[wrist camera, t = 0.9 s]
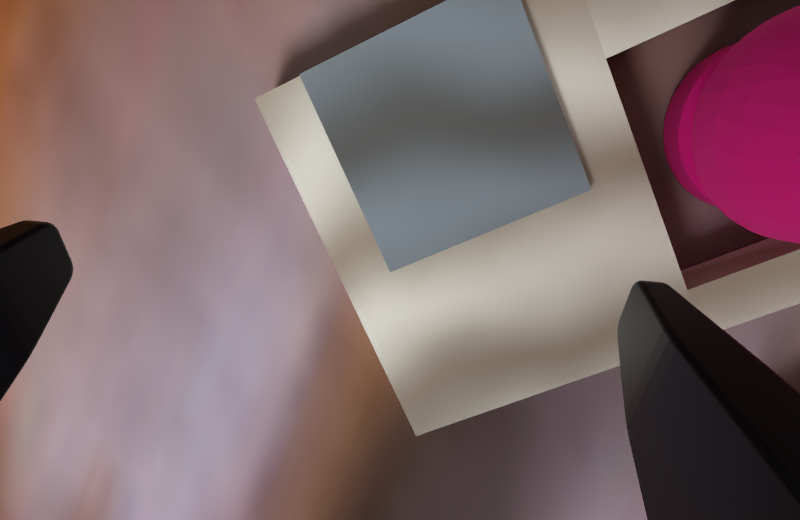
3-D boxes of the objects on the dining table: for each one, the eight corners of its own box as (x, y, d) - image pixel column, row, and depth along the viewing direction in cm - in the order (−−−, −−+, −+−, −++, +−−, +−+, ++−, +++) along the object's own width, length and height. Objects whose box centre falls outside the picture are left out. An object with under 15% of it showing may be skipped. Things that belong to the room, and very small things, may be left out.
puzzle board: (944, 225, 21) (1003, 237, 18) (419, 412, 25) (415, 440, 22) (841, -182, 18) (897, -227, 16) (271, 101, 22) (251, 98, 20)
